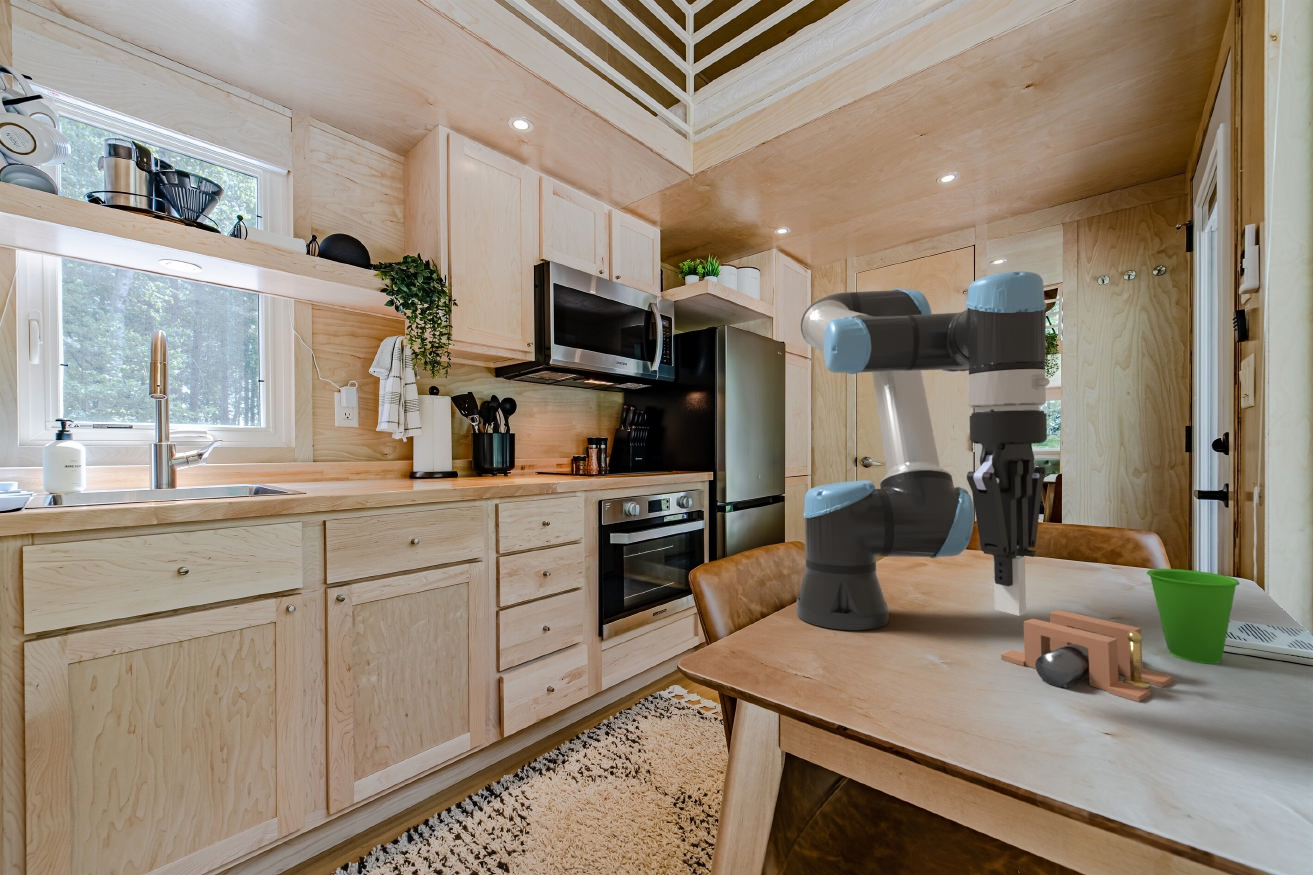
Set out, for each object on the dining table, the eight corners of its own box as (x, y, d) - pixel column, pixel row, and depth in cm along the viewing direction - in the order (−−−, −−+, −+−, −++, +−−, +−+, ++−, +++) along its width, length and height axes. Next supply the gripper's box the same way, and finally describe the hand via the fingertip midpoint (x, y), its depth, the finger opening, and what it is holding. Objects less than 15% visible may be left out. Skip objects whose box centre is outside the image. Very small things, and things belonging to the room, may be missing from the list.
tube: (1069, 690, 64) (1068, 660, 64) (1035, 679, 67) (1034, 650, 67) (1127, 662, 72) (1126, 635, 72) (1094, 653, 75) (1093, 627, 75)
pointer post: (1119, 683, 66) (1117, 630, 66) (1128, 679, 67) (1125, 626, 67) (1144, 691, 63) (1142, 636, 64) (1153, 686, 65) (1150, 632, 65)
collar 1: (1001, 659, 74) (999, 616, 74) (1013, 654, 75) (1012, 612, 75) (1138, 701, 61) (1136, 650, 61) (1150, 695, 62) (1148, 645, 63)
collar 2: (1027, 648, 77) (1026, 608, 77) (1039, 644, 79) (1037, 604, 79) (1162, 687, 64) (1161, 638, 65) (1173, 681, 66) (1171, 633, 66)
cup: (1264, 672, 68) (1260, 585, 68) (1180, 667, 70) (1177, 583, 70) (1206, 646, 77) (1203, 569, 77) (1133, 642, 79) (1131, 567, 79)
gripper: (1011, 407, 56) (1015, 632, 56) (1070, 408, 62) (1073, 609, 63) (942, 411, 62) (945, 612, 63) (1002, 411, 69) (1005, 593, 69)
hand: (1009, 611), depth 63 cm, fingers closed
